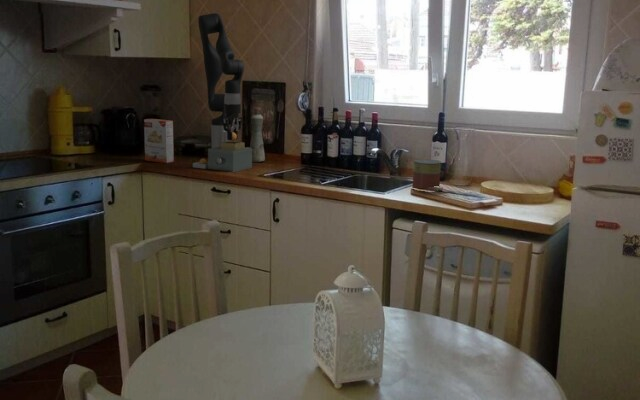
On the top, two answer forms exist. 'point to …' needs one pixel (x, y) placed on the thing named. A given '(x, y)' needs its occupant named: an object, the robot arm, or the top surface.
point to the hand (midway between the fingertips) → (232, 139)
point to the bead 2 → (233, 136)
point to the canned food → (426, 173)
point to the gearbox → (230, 157)
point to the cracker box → (158, 140)
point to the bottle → (257, 137)
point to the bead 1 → (203, 161)
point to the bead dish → (200, 165)
